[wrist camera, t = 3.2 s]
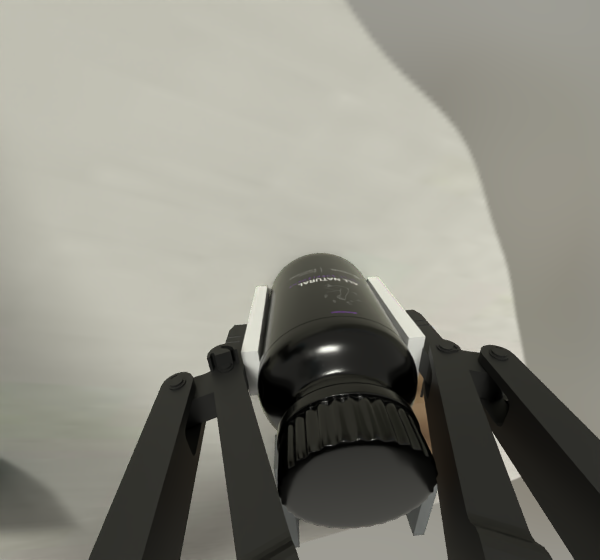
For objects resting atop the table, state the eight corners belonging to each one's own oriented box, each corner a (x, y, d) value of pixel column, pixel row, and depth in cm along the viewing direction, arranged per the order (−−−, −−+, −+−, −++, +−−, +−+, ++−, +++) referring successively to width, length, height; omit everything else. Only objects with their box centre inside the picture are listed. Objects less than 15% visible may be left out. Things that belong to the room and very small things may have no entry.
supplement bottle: (332, 229, 16) (425, 366, 5) (380, 303, 19) (510, 497, 8) (248, 286, 18) (191, 486, 7) (304, 348, 20) (326, 564, 9)
